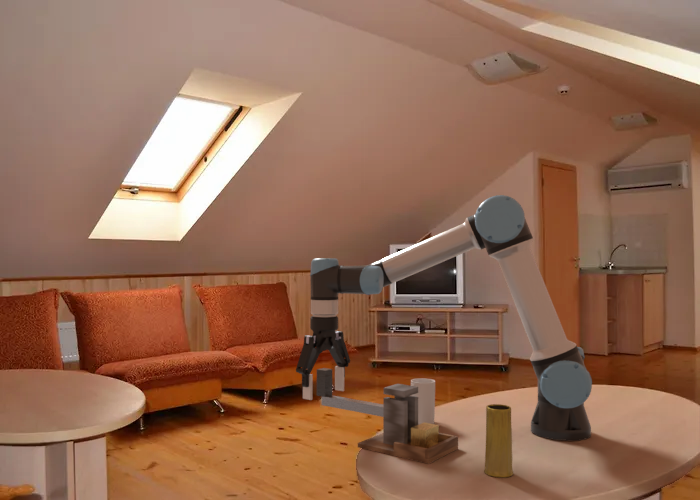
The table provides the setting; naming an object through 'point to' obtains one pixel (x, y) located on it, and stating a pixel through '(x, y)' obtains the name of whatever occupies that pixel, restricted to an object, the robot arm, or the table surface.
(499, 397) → the table surface
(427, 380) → the mug
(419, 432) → the spacer
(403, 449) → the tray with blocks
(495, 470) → the vase
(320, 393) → the grey l-shaped bar
